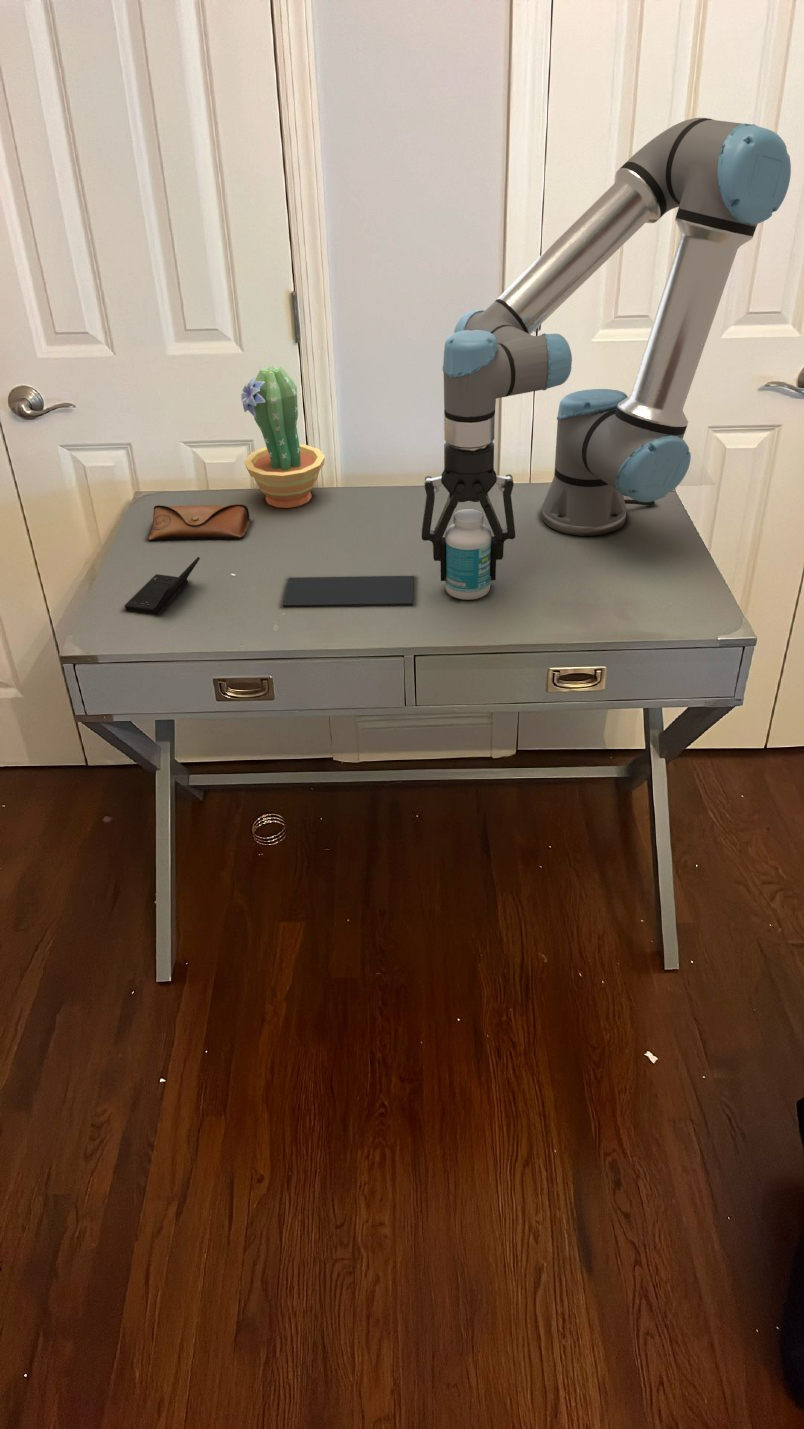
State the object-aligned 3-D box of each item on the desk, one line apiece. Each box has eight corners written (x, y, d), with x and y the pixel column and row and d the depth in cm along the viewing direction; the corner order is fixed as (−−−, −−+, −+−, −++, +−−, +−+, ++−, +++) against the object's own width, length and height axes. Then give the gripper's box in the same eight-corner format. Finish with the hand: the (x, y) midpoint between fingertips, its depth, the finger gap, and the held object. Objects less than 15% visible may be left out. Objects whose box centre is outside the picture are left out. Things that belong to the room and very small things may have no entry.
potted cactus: (251, 483, 200) (235, 357, 185) (328, 479, 201) (317, 353, 186) (246, 517, 188) (228, 385, 173) (328, 512, 188) (317, 381, 173)
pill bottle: (487, 603, 160) (488, 527, 152) (441, 600, 161) (441, 524, 153) (493, 580, 166) (494, 506, 158) (449, 577, 167) (448, 503, 159)
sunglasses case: (146, 540, 180) (144, 503, 180) (156, 542, 187) (154, 506, 187) (244, 537, 180) (243, 500, 179) (251, 540, 187) (249, 504, 186)
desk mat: (413, 577, 168) (413, 575, 167) (412, 605, 160) (412, 603, 160) (289, 579, 168) (289, 577, 168) (283, 607, 161) (283, 605, 161)
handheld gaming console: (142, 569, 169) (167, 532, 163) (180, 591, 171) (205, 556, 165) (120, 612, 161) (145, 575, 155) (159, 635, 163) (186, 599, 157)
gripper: (535, 430, 151) (528, 564, 165) (401, 433, 152) (406, 566, 165) (539, 450, 145) (532, 587, 159) (400, 452, 146) (405, 589, 159)
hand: (467, 576), depth 162 cm, fingers closed on pill bottle, 7 cm apart
